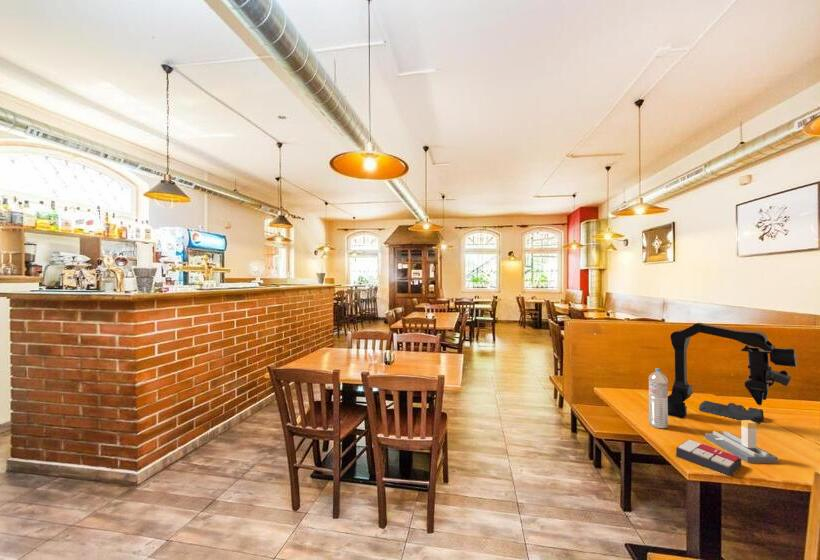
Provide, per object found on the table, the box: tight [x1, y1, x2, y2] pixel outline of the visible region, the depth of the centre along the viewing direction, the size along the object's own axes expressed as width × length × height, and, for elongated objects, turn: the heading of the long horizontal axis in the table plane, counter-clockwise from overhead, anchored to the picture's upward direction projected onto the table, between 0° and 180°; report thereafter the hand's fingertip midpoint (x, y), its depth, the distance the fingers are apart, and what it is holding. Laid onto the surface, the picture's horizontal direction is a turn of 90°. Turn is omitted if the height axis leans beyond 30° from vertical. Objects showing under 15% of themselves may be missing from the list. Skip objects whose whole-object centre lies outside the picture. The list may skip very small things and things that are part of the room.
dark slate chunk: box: [698, 400, 765, 425], centre depth 160 cm, size 15×22×5 cm
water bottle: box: [648, 367, 669, 430], centre depth 148 cm, size 7×7×25 cm
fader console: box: [704, 430, 779, 464], centre depth 127 cm, size 18×10×3 cm, turn 177°
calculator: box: [675, 439, 742, 477], centre depth 120 cm, size 11×4×15 cm
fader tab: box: [740, 420, 758, 451], centre depth 123 cm, size 3×3×10 cm
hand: (761, 402), depth 136 cm, fingers open, 9 cm apart
